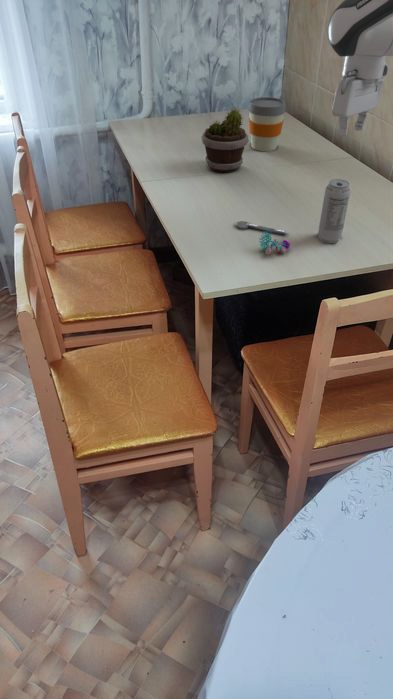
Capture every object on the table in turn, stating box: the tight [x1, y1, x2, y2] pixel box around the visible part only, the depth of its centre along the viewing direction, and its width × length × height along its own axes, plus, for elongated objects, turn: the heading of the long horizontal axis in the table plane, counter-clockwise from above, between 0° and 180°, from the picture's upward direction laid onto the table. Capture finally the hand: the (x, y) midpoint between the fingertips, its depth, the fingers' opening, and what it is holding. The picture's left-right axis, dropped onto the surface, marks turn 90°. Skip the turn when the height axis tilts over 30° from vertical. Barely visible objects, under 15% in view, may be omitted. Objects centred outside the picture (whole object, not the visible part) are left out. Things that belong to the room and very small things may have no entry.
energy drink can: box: [317, 178, 351, 244], centre depth 136 cm, size 6×6×15 cm
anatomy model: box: [258, 231, 291, 256], centre depth 134 cm, size 5×8×7 cm
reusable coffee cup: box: [248, 96, 286, 152], centre depth 189 cm, size 13×13×15 cm
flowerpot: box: [201, 104, 250, 173], centre depth 172 cm, size 14×15×20 cm
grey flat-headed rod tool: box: [235, 220, 287, 236], centre depth 144 cm, size 14×4×1 cm, turn 66°
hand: (350, 132), depth 131 cm, fingers open, 8 cm apart
